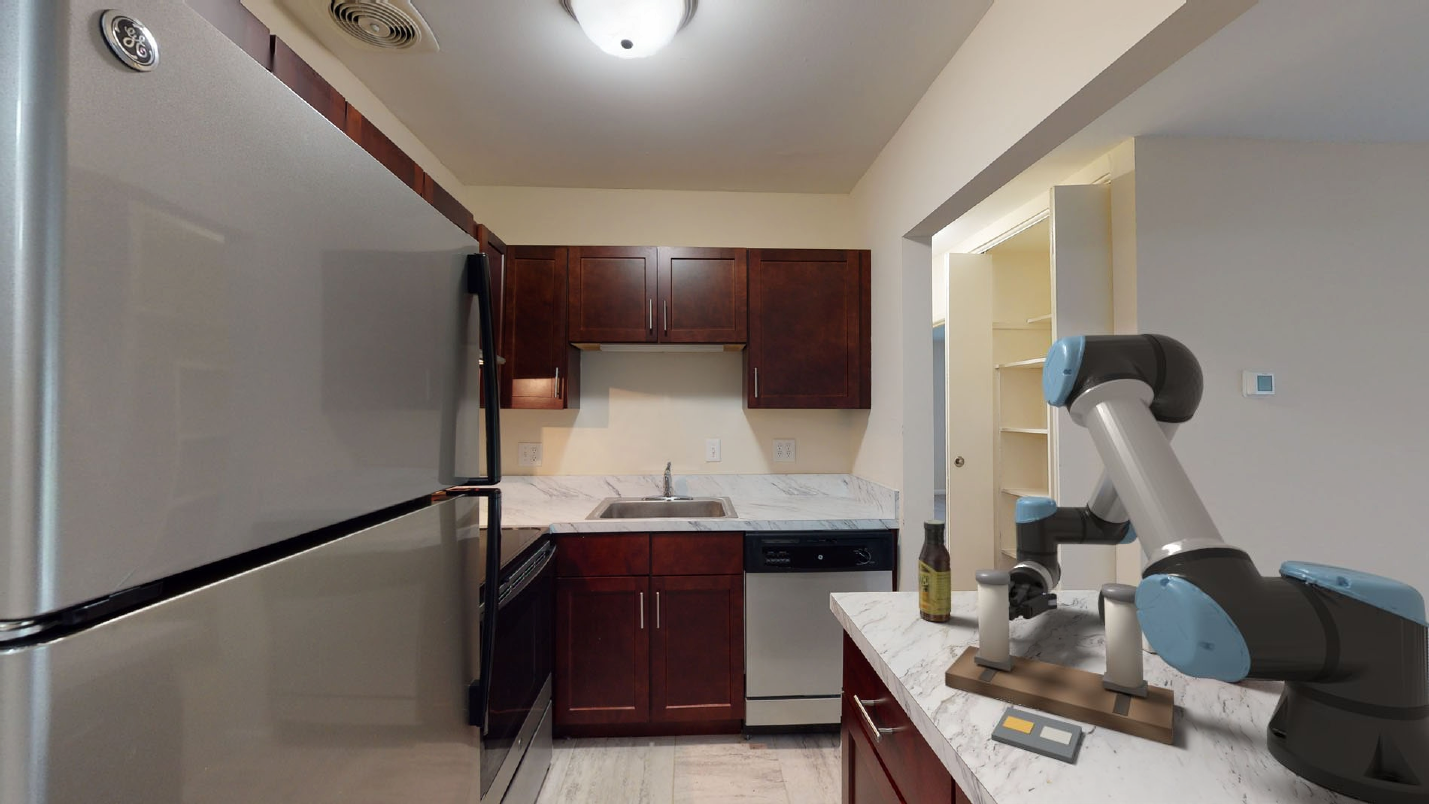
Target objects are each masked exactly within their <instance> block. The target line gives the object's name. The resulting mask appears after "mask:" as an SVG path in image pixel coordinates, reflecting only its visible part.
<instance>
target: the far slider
mask: <svg viewBox="0 0 1429 804" xmlns="http://www.w3.org/2000/svg"><path fill="white" fill-rule="evenodd" d="M974 574H975V580H976V582H977V607H978V608H977V609H978V611H977V612H978V646H979V647H978V648H979V651H978V652H977V654H976V655H975V656H974V663H978V664H982V665H986V666H990V667H995V668H999V669H1003V670H1008V671H1010V670H1011V669H1012V667H1013V666H1014V664H1015V657H1014V656H1015V655H1014V656H1010V655H1011V651H1010V650H1011V647H1010V645H1011V644H1010V642H1011V641H1010V640H1011V639H1010V621H1009V599H1008V584H1010V574H1009V573H1008V572H1007V571H1005V570H1001V569H993V568H981V569H976V570H975V573H974Z"/></svg>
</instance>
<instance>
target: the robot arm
mask: <svg viewBox="0 0 1429 804" xmlns="http://www.w3.org/2000/svg"><path fill="white" fill-rule="evenodd" d="M1042 370H1043V371H1042V392H1043V397H1044V399H1045V401H1046V403H1047V404H1048V406H1049V405H1050V406H1051V407H1056V408H1059V409H1060V408H1062V407H1063V408H1064V407H1065V408H1066V411H1067V412H1068V414H1069V417H1070V418H1071V420H1072V422H1074V424H1076V425H1078V426H1080V427H1082V428H1085V429H1087V430H1088V432H1089V434H1090V437H1091V439H1092V441H1093V443H1094V445H1095V447H1096V450H1097V452H1098V454H1099V456H1100V459H1101V460H1102V463H1103V464H1104V465H1103V468H1102V469H1101V472H1100V475H1099V477H1098V479H1097V481H1096V483H1095V486H1094V488H1093V490H1092V492H1091V494H1090V497H1089V499H1088V501H1087V503H1086V505H1085V506H1058V505H1057V502H1056V500H1055V499H1054V498H1051V497H1047V496H1046V497H1045V496H1021V497H1019V498H1018V499H1017V500H1016V503H1015V508H1014V509H1015V511H1014V512H1015V514H1014V522H1015V523H1014V525H1015V540H1016V549H1015V554H1016V555H1015V556H1016V558H1015V560H1016V565H1014V567H1013V568H1011V569H1010V570H1009V571H1008V572H1007V573H1009V574H1010V584H1008V599H1009V622H1013V621H1015V619H1018V618H1020V617H1021V616H1022V619H1024V620H1032V619H1034V618H1035V617H1038V616H1039V615H1041V614H1043V613H1046V612H1048V611H1050V610H1051V611H1052V610H1057V609H1058V595H1057V593H1054V592H1052V590H1054V589H1055V588H1056V587H1057V585H1059V582H1060V581H1061V576H1062V567H1061V564H1060V563H1059V560H1058V559H1059V558H1058V556H1059V555H1058V551H1059V550H1058V548H1059V546H1058V545H1087V546H1089V545H1093V546H1094V545H1095V546H1099V545H1100V546H1117V545H1126V544H1127V545H1130V544H1132V543H1133V542H1135V541H1136V540H1137V539H1138V541H1139V544H1140V545H1141V548H1142V550H1143V552H1144V554H1145V557H1146V558H1147V560H1148V561H1147V563H1146V564H1145V565H1144V567H1143V569H1142V571H1141V575H1140V576H1141V578H1142V580H1141V581H1140V583H1139V584H1138V585H1137V586H1136V587H1137V590H1136V594H1135V604H1136V606H1137V607H1138V609H1139V610H1138V611H1137V612H1136V613H1137V618H1138V621H1139V624H1140V627H1141V629H1142V631H1143V633H1144V635H1145V637H1146V639H1147V641H1148V642H1149V644H1150V645H1151V647H1152V648H1153V650H1154V651H1155V652H1156V653H1155V654H1156V655H1157V656H1158V657H1159V658H1160V659H1161V660H1162V661H1163V662H1164V663H1166V665H1168V666H1169V667H1171V668H1173V669H1174V670H1176V671H1177V672H1178V673H1180V674H1182V675H1185V676H1186V677H1187V676H1188V677H1191V678H1195V679H1208V680H1216V681H1219V682H1225V683H1226V682H1227V683H1237V681H1238V680H1242V681H1253V682H1254V681H1255V682H1256V681H1259V682H1260V681H1261V682H1284V686H1283V689H1282V692H1281V695H1280V697H1279V699H1278V700H1277V703H1276V705H1275V707H1274V711H1273V712H1272V715H1271V717H1270V719H1269V721H1268V723H1267V727H1266V746H1267V750H1268V751H1269V753H1270V755H1272V757H1274V758H1275V759H1276V760H1277V761H1278V762H1279V763H1280V764H1282V765H1283V766H1284V767H1286V768H1288V769H1289V770H1291V771H1292V772H1294V773H1296V774H1298V775H1299V776H1301V777H1303V778H1305V779H1307V780H1308V781H1311V782H1313V783H1316V784H1317V785H1320V786H1322V787H1325V788H1327V789H1329V790H1332V791H1335V792H1337V793H1340V794H1342V795H1343V794H1344V795H1346V796H1349V797H1351V798H1356V799H1358V800H1362V801H1365V802H1369V803H1372V804H1429V622H1428V621H1427V615H1426V613H1427V612H1426V606H1425V600H1424V597H1423V595H1422V594H1421V593H1420V591H1418V590H1417V589H1416V588H1415V587H1413V586H1412V585H1409V584H1408V583H1404V582H1403V581H1401V580H1400V581H1399V580H1396V579H1393V578H1390V577H1385V576H1382V575H1378V574H1374V573H1369V572H1365V571H1360V570H1355V569H1351V568H1345V567H1340V566H1335V565H1334V566H1333V565H1330V564H1323V563H1316V562H1308V561H1300V560H1287V561H1283V562H1282V563H1281V565H1280V567H1279V569H1278V573H1279V574H1280V576H1264V575H1263V576H1262V574H1261V573H1260V571H1259V569H1258V568H1257V567H1256V564H1255V563H1254V562H1253V560H1252V558H1251V556H1250V555H1249V554H1248V552H1247V551H1246V550H1245V549H1243V548H1240V547H1237V546H1234V545H1232V544H1229V543H1226V542H1225V540H1224V539H1223V537H1222V535H1221V533H1220V530H1219V529H1218V527H1217V526H1216V524H1215V522H1214V521H1213V519H1212V517H1211V515H1210V513H1209V511H1208V510H1207V508H1206V506H1205V504H1204V503H1203V501H1202V500H1201V499H1202V498H1201V497H1200V495H1199V494H1198V492H1197V491H1196V488H1195V486H1194V485H1193V483H1192V481H1191V480H1190V478H1189V476H1188V474H1187V473H1186V472H1187V471H1185V469H1184V468H1183V465H1182V463H1181V462H1180V460H1179V459H1178V457H1177V455H1176V453H1175V451H1174V450H1173V447H1172V446H1171V442H1172V440H1173V439H1174V437H1175V436H1176V433H1177V431H1178V429H1179V427H1180V426H1181V425H1182V424H1185V423H1188V422H1189V421H1191V420H1192V418H1193V417H1194V416H1195V413H1196V411H1197V410H1198V408H1199V405H1200V403H1201V401H1202V398H1203V393H1204V375H1203V371H1202V367H1201V364H1200V362H1199V360H1198V358H1197V357H1196V356H1195V354H1194V353H1193V352H1192V350H1191V349H1190V348H1189V347H1187V346H1186V345H1185V344H1183V343H1182V342H1180V341H1179V340H1177V339H1175V338H1173V337H1171V336H1168V335H1164V334H1159V333H1142V334H1100V335H1099V334H1098V335H1097V334H1095V335H1094V334H1093V335H1092V334H1091V335H1090V334H1089V335H1087V334H1085V335H1084V334H1079V335H1075V336H1064V337H1061V338H1059V339H1057V340H1056V341H1054V342H1053V344H1052V345H1051V346H1050V347H1049V350H1048V352H1047V354H1046V356H1045V360H1044V364H1043V368H1042ZM1051 592H1052V593H1051ZM1238 682H1239V681H1238Z"/></svg>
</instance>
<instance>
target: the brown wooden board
mask: <svg viewBox="0 0 1429 804" xmlns="http://www.w3.org/2000/svg"><path fill="white" fill-rule="evenodd" d="M978 651H979V647H976V646H972V645H968V646H967V647H966V649H965V650H963V652H962V653H961V654H960V655H959V656H958V658H956V659H955V661H954V662H953V663H952V664H951V665H950V666H949V668H947V669H946V670H945V672H944V682H945V686H947V687H949V688H954V689H958V690H961V691H965V692H969V693H972V694H978V695H981V696H985V697H987V698H992V699H996V698H998V699H997V700H999V699H1002V700H1001V701H1003V700H1005V701H1004V702H1007V701H1010V702H1009V703H1011V702H1013V703H1012V704H1015V703H1016V704H1015V705H1018V704H1021V705H1020V706H1022V705H1025V706H1024V707H1026V706H1027V708H1030V707H1032V708H1031V709H1034V708H1035V709H1034V710H1037V709H1039V710H1038V711H1041V710H1043V711H1042V712H1046V713H1049V714H1052V713H1053V715H1056V716H1061V717H1065V718H1068V719H1071V720H1076V721H1080V722H1083V723H1086V724H1092V725H1095V726H1098V727H1102V728H1106V729H1109V730H1110V729H1111V730H1114V731H1117V732H1122V733H1124V734H1128V735H1133V736H1136V737H1141V738H1143V739H1147V740H1151V741H1157V742H1160V743H1163V744H1166V745H1170V746H1172V745H1173V737H1174V736H1173V735H1174V734H1173V731H1174V718H1175V717H1174V716H1175V715H1174V714H1175V691H1174V690H1173V689H1169V688H1165V687H1160V686H1156V685H1151V684H1148V691H1147V697H1143V696H1138V695H1134V694H1129V693H1125V692H1121V691H1116V690H1112V689H1108V688H1103V687H1102V679H1103V675H1104V674H1102V673H1101V674H1100V673H1096V672H1093V671H1088V670H1083V669H1078V668H1072V667H1068V666H1064V665H1059V664H1054V663H1050V662H1046V661H1042V660H1037V659H1033V658H1032V659H1031V658H1028V657H1022V656H1019V655H1014V654H1010V656H1014V657H1015V664H1014V666H1013V667H1012V669H1011V670H1010V671H1008V670H1003V669H999V668H995V667H990V666H986V665H982V664H978V663H974V656H975V655H976V654H977V652H978Z"/></svg>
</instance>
